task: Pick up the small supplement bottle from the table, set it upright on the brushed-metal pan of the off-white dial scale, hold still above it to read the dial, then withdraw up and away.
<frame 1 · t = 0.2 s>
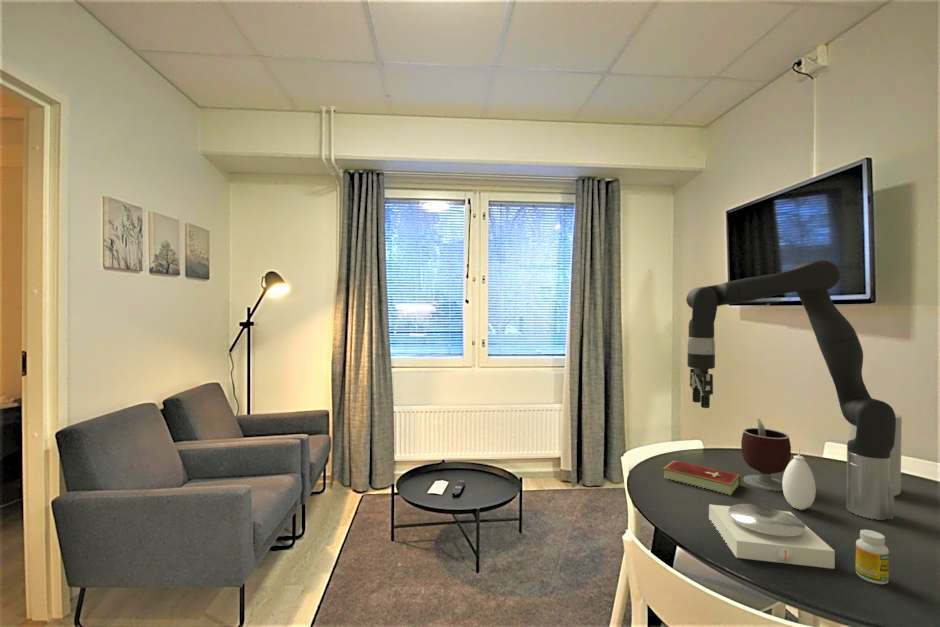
hand: (700, 404, 136), 29 cm above the table, tool pointing down, fingers open, 8 cm apart
mate gourd: (764, 483, 150), on the table
scale base: (765, 541, 111), on the table
white rubber air blower: (798, 509, 130), on the table
scale pan: (765, 519, 111), point 6 cm above the table, slide at -0.5 cm
supplement bottle: (871, 578, 96), on the table
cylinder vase: (873, 490, 145), on the table
hardcover book: (700, 483, 150), on the table
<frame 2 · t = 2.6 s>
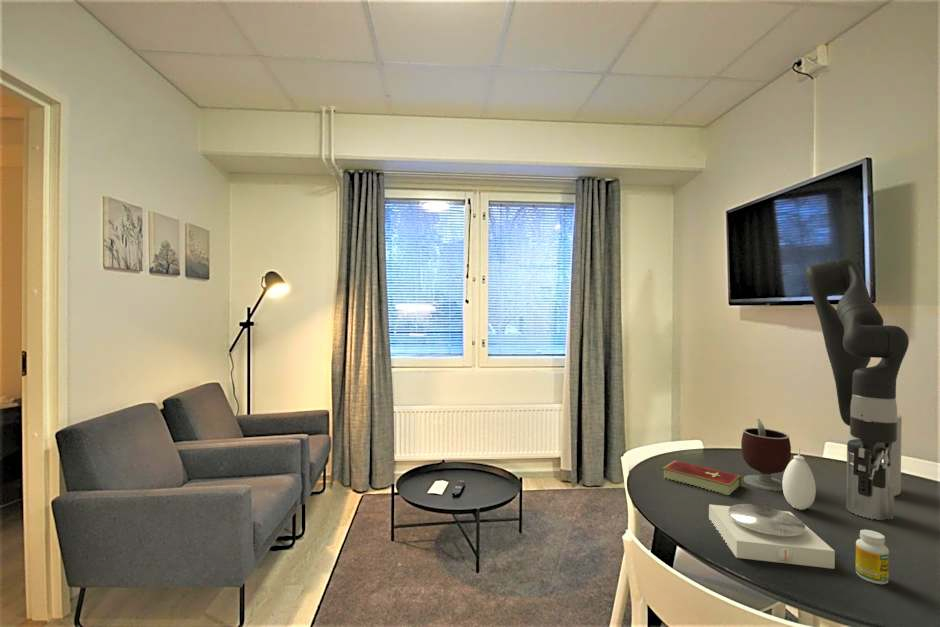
hand: (872, 491, 96), 19 cm above the table, tool pointing down, fingers open, 8 cm apart
nothing on the table moved.
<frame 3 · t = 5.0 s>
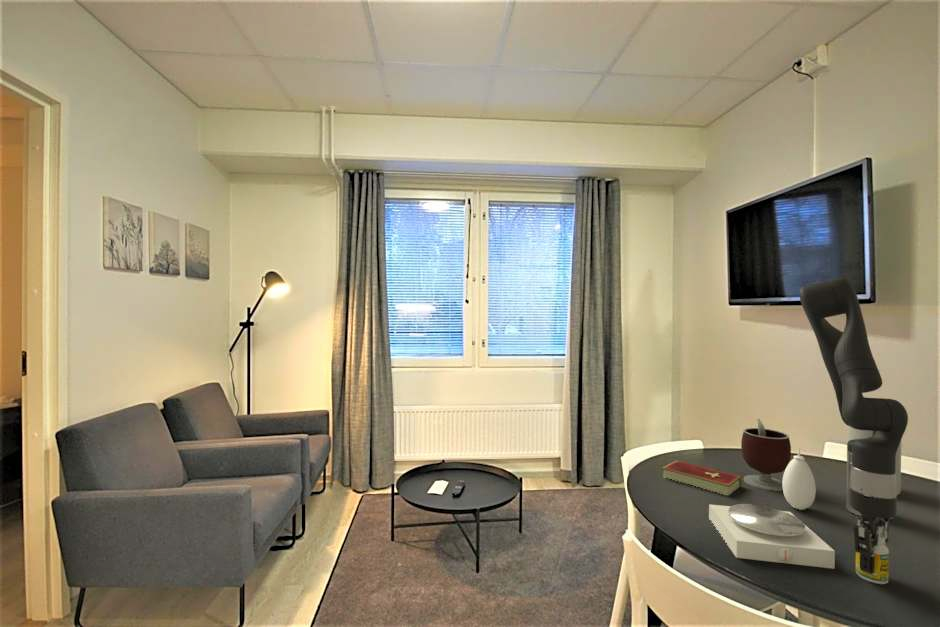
hand: (871, 567, 96), 2 cm above the table, tool pointing down, fingers closed on supplement bottle, 5 cm apart
supplement bottle: (871, 578, 96), on the table, touching gripper
everything else where it was.
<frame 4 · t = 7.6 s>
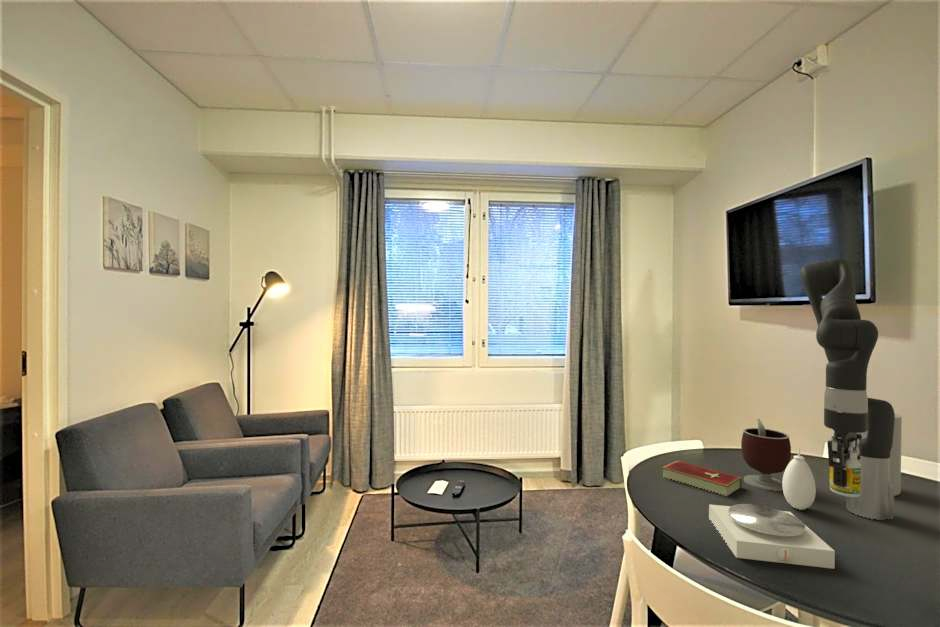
hand: (844, 482, 100), 19 cm above the table, tool pointing down, fingers closed on supplement bottle, 5 cm apart
supplement bottle: (844, 493, 100), point 17 cm above the table, touching gripper
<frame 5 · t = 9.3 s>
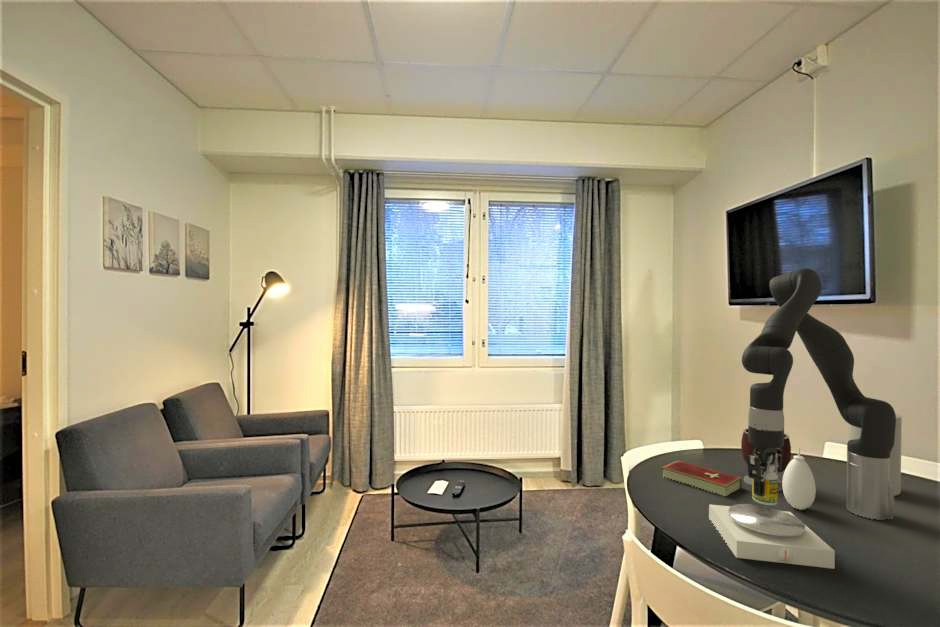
hand: (764, 492, 111), 12 cm above the table, tool pointing down, fingers closed on supplement bottle, 5 cm apart
supplement bottle: (764, 502, 111), point 10 cm above the table, touching gripper
when the fingers open (10 cm above the table, at t = 10.4 s): supplement bottle drops 2 cm, resting on scale pan.
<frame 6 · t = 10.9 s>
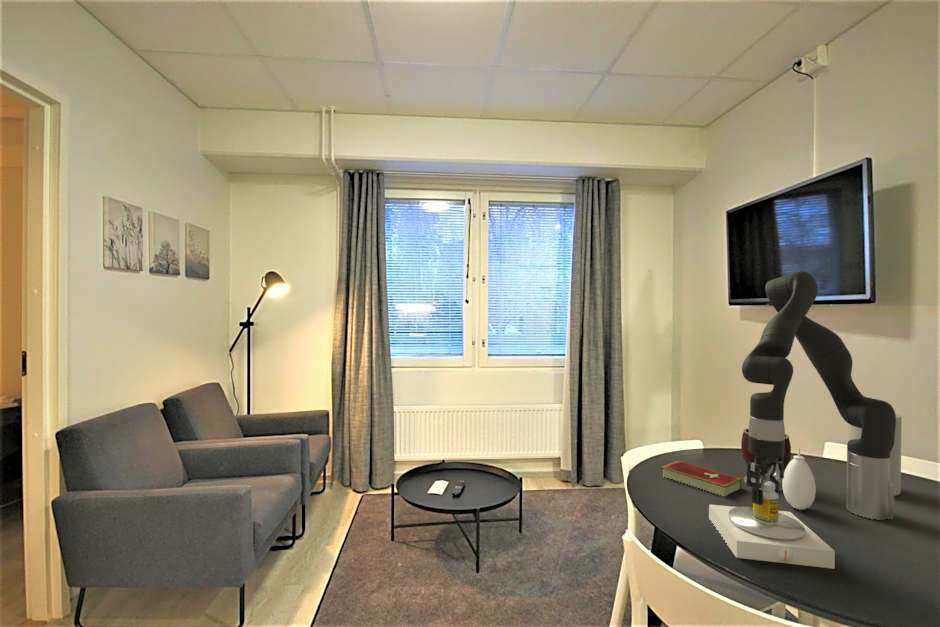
hand: (765, 499, 111), 10 cm above the table, tool pointing down, fingers open, 8 cm apart
scale pan: (765, 522, 111), point 5 cm above the table, slide at -1.2 cm, touching supplement bottle
supplement bottle: (765, 521, 111), point 5 cm above the table, touching scale pan
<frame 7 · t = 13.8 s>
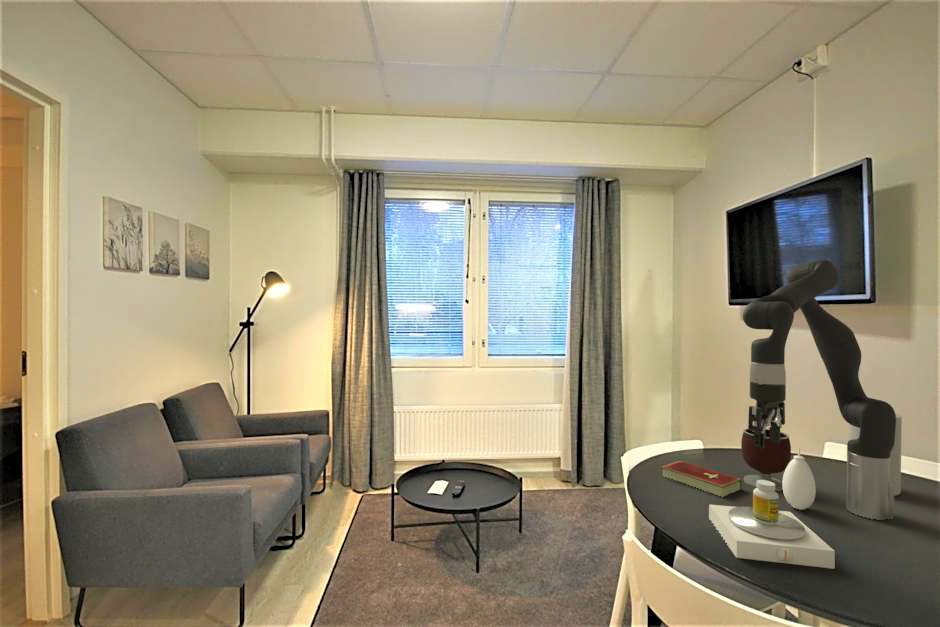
hand: (766, 444, 112), 24 cm above the table, tool pointing down, fingers open, 8 cm apart
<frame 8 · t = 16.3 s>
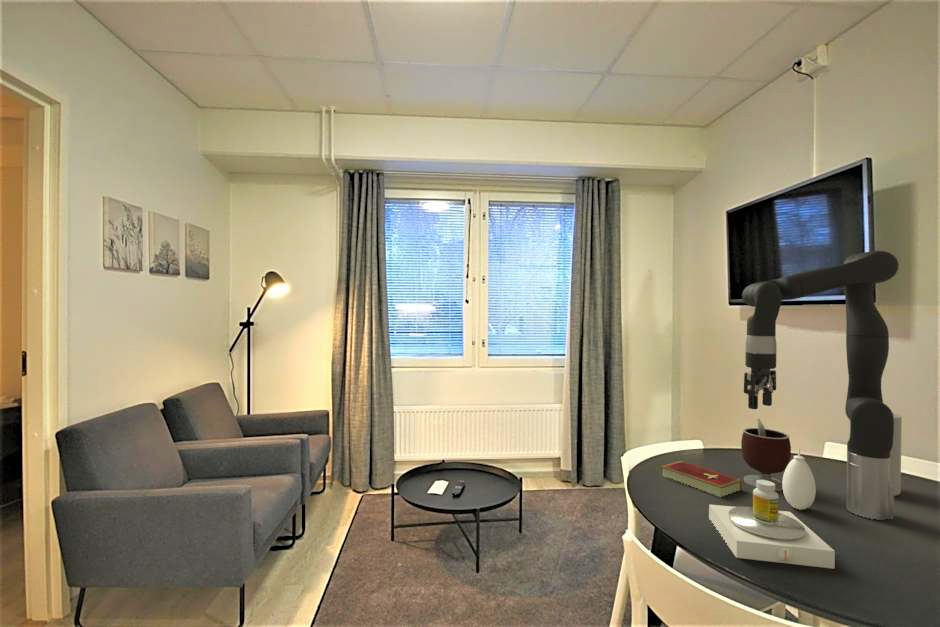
hand: (760, 407, 128), 30 cm above the table, tool pointing down, fingers open, 8 cm apart
at the end: supplement bottle inside the target area on the scale base (0.0 cm from its centre), point 5.0 cm above the scale base's base; supplement bottle tilted 0°; the gripper is holding nothing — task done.
